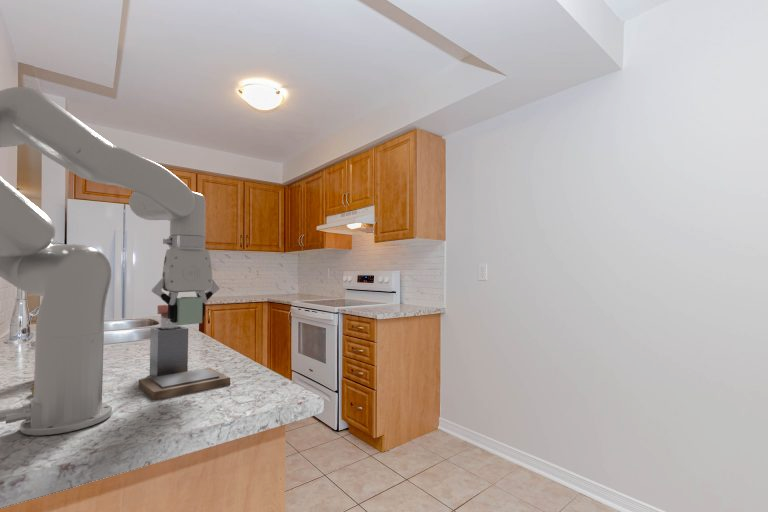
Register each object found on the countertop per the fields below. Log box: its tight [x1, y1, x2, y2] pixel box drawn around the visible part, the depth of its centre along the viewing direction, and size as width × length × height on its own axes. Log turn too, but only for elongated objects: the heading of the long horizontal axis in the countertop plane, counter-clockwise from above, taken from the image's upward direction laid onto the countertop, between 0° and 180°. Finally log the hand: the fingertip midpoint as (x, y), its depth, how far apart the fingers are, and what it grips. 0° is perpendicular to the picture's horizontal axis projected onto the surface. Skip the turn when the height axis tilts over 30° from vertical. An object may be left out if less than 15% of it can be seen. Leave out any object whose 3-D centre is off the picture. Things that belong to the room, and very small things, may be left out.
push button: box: [157, 304, 179, 331], centre depth 100 cm, size 6×6×9 cm
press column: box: [149, 325, 189, 377], centre depth 100 cm, size 7×7×12 cm
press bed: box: [138, 367, 231, 401], centre depth 90 cm, size 16×13×2 cm
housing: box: [171, 295, 203, 326], centre depth 91 cm, size 5×6×6 cm
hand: (186, 319), depth 91 cm, fingers closed on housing, 5 cm apart
